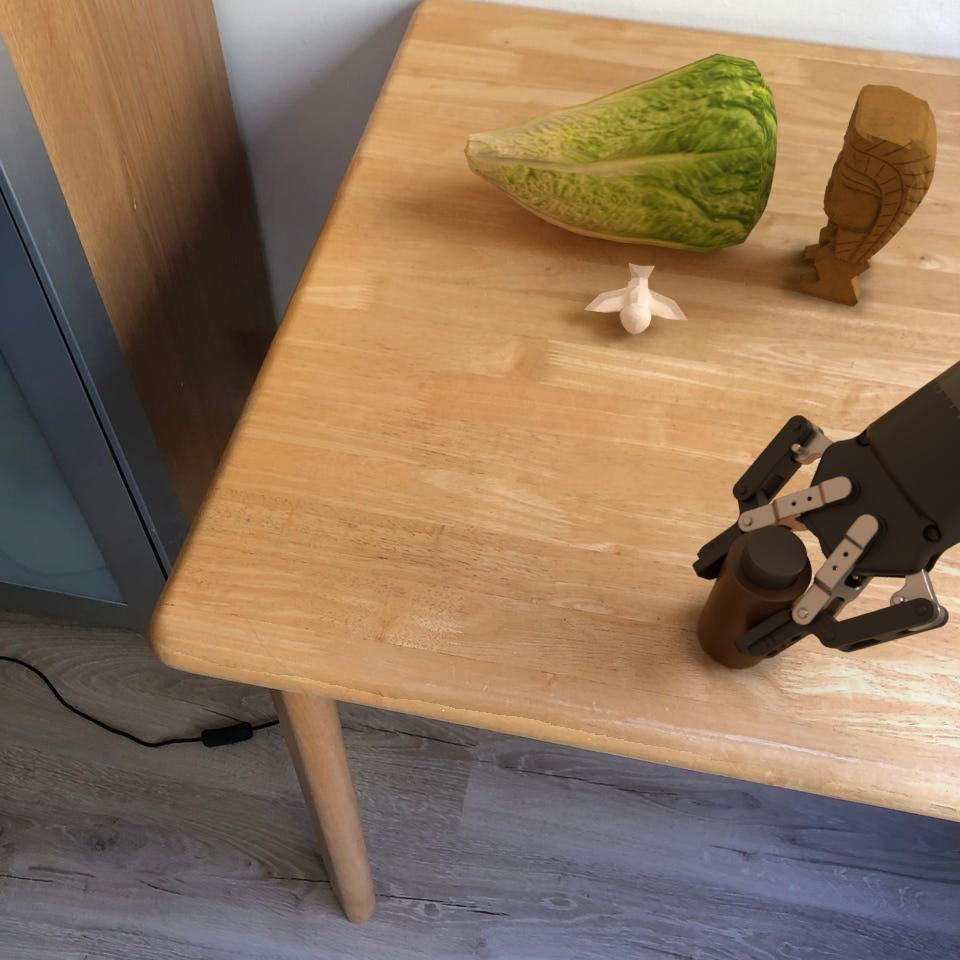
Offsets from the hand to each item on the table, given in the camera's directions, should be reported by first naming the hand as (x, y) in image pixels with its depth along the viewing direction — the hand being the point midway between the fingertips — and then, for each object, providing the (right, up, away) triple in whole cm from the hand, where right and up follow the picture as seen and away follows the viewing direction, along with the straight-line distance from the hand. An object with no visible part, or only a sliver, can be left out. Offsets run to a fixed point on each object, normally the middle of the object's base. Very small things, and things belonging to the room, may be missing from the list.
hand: (722, 610), depth 56 cm
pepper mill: (+2, -2, +4) cm, 5 cm away
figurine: (+15, +24, +23) cm, 36 cm away
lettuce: (-3, +30, +27) cm, 41 cm away
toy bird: (-2, +20, +20) cm, 28 cm away
